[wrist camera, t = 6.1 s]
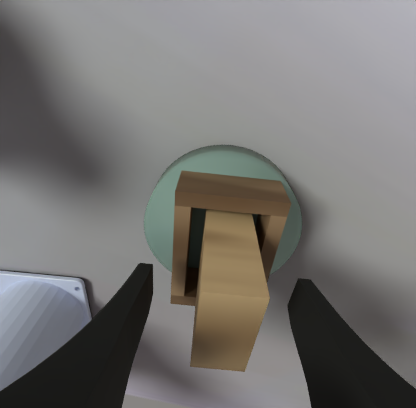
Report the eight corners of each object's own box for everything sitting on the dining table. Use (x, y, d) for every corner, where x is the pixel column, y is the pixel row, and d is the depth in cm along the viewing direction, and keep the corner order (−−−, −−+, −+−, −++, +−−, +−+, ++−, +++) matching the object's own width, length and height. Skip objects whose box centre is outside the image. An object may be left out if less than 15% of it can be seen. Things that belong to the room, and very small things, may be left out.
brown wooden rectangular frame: (253, 281, 19) (258, 311, 17) (176, 274, 19) (170, 303, 16) (280, 180, 15) (291, 203, 12) (181, 170, 14) (175, 191, 12)
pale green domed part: (274, 269, 21) (280, 293, 19) (153, 257, 21) (145, 280, 19) (310, 153, 16) (324, 169, 14) (151, 136, 16) (141, 149, 14)
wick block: (235, 263, 18) (244, 371, 12) (199, 259, 18) (190, 366, 12) (249, 201, 15) (269, 298, 9) (207, 196, 15) (200, 291, 9)
